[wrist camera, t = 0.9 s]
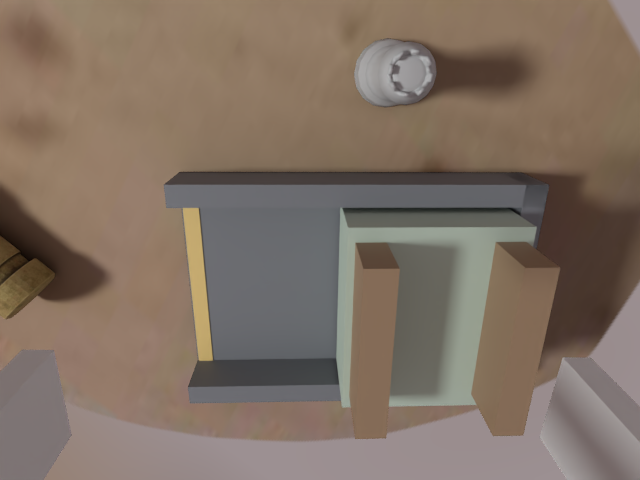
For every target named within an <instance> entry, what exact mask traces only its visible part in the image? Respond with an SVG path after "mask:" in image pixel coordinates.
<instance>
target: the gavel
mask: <svg viewBox="0 0 640 480" xmlns="http://www.w3.org/2000/svg"><path fill="white" fill-rule="evenodd" d="M54 278H55V273H54V272H53V271H52V270H50V269H49V268H48V267H47V266H45V265H44V264H43V263H41V262H40V261H39V260H38V259H36V258H35V259H33V260H31V261H28V260H27V259H26V258H24V257H23V256H22V255H21V252H20V251H19V250H18V249H17V248H15V247H14V246H13V245H12V244H10V243H9V242H8V241H6V240H5V239H4V238H3V237H1V236H0V316H2V317H3V318H4V319H9V318H12V317H13V316H14V315H16V314H17V313H18V312H19V311H20V310H22V309H23V308H24V307H25V306H26V305H27V304H28V303H29V302H31V301H32V300H33V299H34V298H35V297H36V296H37V295H38V294H39V293H40V292H41V291H42V290H43V289H44V288H45V287H46V286H47V285H48V284H49V283H50V282H51V281H52V280H53V279H54Z"/></svg>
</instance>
